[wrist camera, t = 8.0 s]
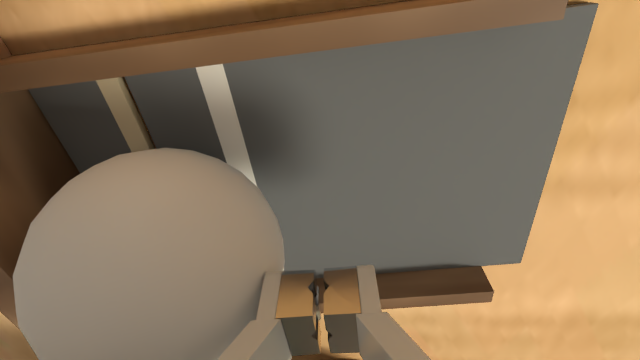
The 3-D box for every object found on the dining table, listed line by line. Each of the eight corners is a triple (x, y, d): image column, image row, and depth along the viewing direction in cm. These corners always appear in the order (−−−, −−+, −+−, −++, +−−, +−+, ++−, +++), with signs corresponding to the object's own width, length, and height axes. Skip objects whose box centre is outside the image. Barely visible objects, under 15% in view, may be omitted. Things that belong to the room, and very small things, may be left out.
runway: (30, 77, 12) (22, 80, 12) (589, 2, 11) (598, 3, 10) (156, 285, 19) (153, 290, 19) (516, 257, 17) (520, 262, 17)
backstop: (-53, 26, 11) (-268, 62, 7) (541, -63, 10) (700, -82, 6) (141, 308, 20) (93, 398, 16) (473, 284, 19) (515, 377, 14)
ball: (312, 240, 16) (311, 430, 10) (167, 271, 17) (75, 462, 11) (252, 86, 12) (176, 235, 5) (65, 140, 13) (-192, 319, 6)
